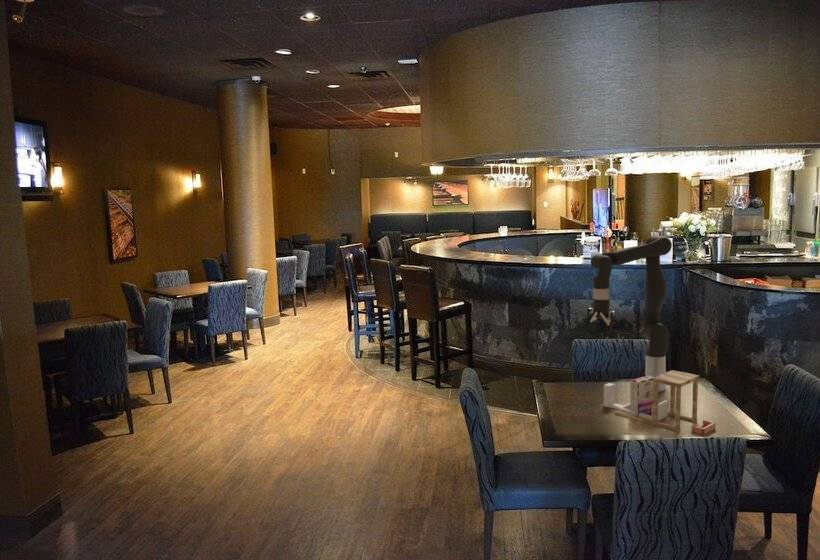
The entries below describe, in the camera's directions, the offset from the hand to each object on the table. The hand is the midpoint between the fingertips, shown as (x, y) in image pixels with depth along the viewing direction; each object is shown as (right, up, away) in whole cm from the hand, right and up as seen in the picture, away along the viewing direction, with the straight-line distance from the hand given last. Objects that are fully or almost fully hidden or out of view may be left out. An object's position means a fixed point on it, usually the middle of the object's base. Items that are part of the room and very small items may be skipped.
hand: (601, 331), depth 318 cm
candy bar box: (+13, -35, -21) cm, 43 cm away
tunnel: (+16, -36, -25) cm, 47 cm away
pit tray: (+30, -38, -42) cm, 64 cm away
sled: (+9, -35, -17) cm, 40 cm away
